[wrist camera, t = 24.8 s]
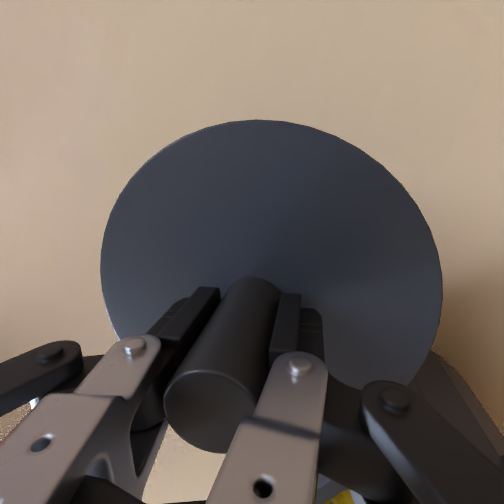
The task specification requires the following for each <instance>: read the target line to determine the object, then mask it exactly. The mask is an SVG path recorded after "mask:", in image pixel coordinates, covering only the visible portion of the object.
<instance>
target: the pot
mask: <svg viewBox="0 0 504 504" xmlns="http://www.w3.org/2000/svg"><path fill="white" fill-rule="evenodd" d="M407 387H408V388H410V389H412V390H413V391H415V392H416V393H418V394H419V395H420V396H421V397H422V398H423V399H424V400H425V401H427V402H428V403H429V404H430V405H431V406H432V407H433V408H434V409H435V410H436V411H437V412H439V413H440V414H441V415H442V416H443V417H444V418H445V419H446V420H447V421H448V422H449V423H450V424H452V425H453V426H454V427H455V428H456V429H457V430H458V431H459V432H460V433H461V434H462V435H463V436H465V437H466V438H467V439H468V440H469V441H470V442H471V443H472V444H473V445H474V446H475V447H476V448H478V449H479V450H480V451H481V452H482V453H483V454H484V455H485V456H486V457H487V458H488V459H489V460H491V461H492V462H493V463H494V464H495V465H496V466H497V467H498V468H499V469H500V470H501V471H502V472H504V437H503V435H502V434H501V432H500V431H499V429H498V428H497V426H496V425H495V424H494V422H493V421H492V419H491V418H490V416H489V415H488V414H487V412H486V411H485V409H484V408H483V406H482V405H481V403H480V402H479V401H478V399H477V398H476V396H475V395H474V393H473V392H472V390H471V389H470V388H469V386H468V385H467V383H466V382H465V380H464V379H463V378H462V376H461V375H460V374H458V373H457V372H456V371H455V370H454V368H453V367H452V366H450V365H449V364H448V363H447V362H446V361H445V360H444V359H442V358H441V357H440V356H438V355H437V354H436V353H434V352H432V351H429V353H428V355H427V357H426V359H425V361H424V363H423V365H422V366H421V367H420V369H419V370H418V372H417V373H416V375H415V376H414V378H413V379H412V380H411V382H410V383H409V384H408V385H407ZM344 490H349V489H348V488H346V487H344V486H343V485H341V484H339V483H337V482H335V481H333V480H331V479H329V478H327V477H325V476H324V475H322V474H320V473H319V476H318V485H317V494H316V503H315V504H323V503H325V502H326V501H328V500H330V499H331V498H333V497H334V496H336V495H337V494H339V493H341V492H342V491H344Z"/></svg>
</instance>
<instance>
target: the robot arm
mask: <svg viewBox="0 0 504 504" xmlns="http://www.w3.org/2000/svg"><path fill="white" fill-rule="evenodd" d="M220 301H221V292H220V289H219V288H218V287H206V286H199V287H198V288H197V289H196V291H195V292H194V293H193V294H192V295H191V296H190V297H189V298H188V297H185V298H183V299H181V300H179V301H177V302H175V303H174V304H173V305H172V306H171V307H170V308H169V309H168V310H167V312H165V313H164V314H163V315H162V318H160V319H159V320H158V321H157V322H156V323H155V324H154V325H153V326H152V327H151V328H150V329H149V330H148V331H147V332H146V333H145V334H139V335H133V336H129V337H126V338H124V339H122V340H120V341H118V342H116V343H115V344H114V345H113V346H112V347H111V348H110V349H109V350H108V352H107V353H106V354H105V355H95V356H85V357H82V352H81V347H80V345H79V344H78V343H77V342H74V341H68V340H64V341H56V342H52V343H48V344H45V345H43V346H40V347H38V348H35V349H33V350H30V351H28V352H26V353H23V354H21V355H19V356H16V357H14V358H11V359H9V360H7V361H4V362H2V363H0V417H1V416H3V415H5V414H7V413H9V412H11V411H12V410H14V409H16V408H18V407H20V406H22V405H24V404H26V403H28V402H30V405H31V408H32V410H31V411H30V412H29V413H28V414H27V415H26V416H25V417H24V418H23V419H22V420H21V421H20V422H19V423H18V425H17V426H16V427H15V428H14V429H13V430H12V431H11V432H10V433H9V434H8V435H7V436H6V437H5V438H4V439H3V440H2V441H1V442H0V504H146V503H144V502H142V495H143V491H144V487H145V484H146V482H147V479H148V477H149V474H150V472H151V469H152V466H153V464H154V461H155V459H156V456H157V453H158V451H159V448H160V446H161V443H162V440H163V438H164V435H165V433H166V430H167V428H168V424H169V422H168V421H167V418H166V416H165V413H164V409H163V396H164V391H165V388H166V386H167V384H168V383H169V381H170V380H171V378H172V377H173V375H174V373H175V372H176V370H177V369H178V367H179V366H180V364H181V362H182V361H183V359H184V358H185V356H186V355H187V353H188V351H189V350H190V348H191V347H192V345H193V344H194V342H195V340H196V339H197V337H198V336H199V334H200V333H201V331H202V329H203V328H204V326H205V325H206V323H207V322H208V320H209V318H210V317H211V315H212V314H213V312H214V311H215V309H216V307H217V306H218V304H219V303H220ZM319 473H320V474H322V475H324V476H325V477H327V478H329V479H331V480H333V481H335V482H337V483H339V484H341V485H343V486H344V487H346V488H348V489H350V494H351V497H352V499H353V501H354V503H355V504H504V472H502V471H501V470H500V469H499V468H498V467H497V466H496V465H495V464H494V463H493V462H492V461H491V460H489V459H488V458H487V457H486V456H485V455H484V454H483V453H482V452H481V451H480V450H479V449H478V448H476V447H475V446H474V445H473V444H472V443H471V442H470V441H469V440H468V439H467V438H466V437H465V436H463V435H462V434H461V433H460V432H459V431H458V430H457V429H456V428H455V427H454V426H453V425H452V424H450V423H449V422H448V421H447V420H446V419H445V418H444V417H443V416H442V415H441V414H440V413H439V412H437V411H436V410H435V409H434V408H433V407H432V406H431V405H430V404H429V403H428V402H427V401H425V400H424V399H423V398H422V397H421V396H420V395H419V394H418V393H416V392H415V391H413V390H412V389H410V388H408V387H407V386H404V385H402V384H400V383H396V382H393V381H387V380H377V381H372V382H369V383H368V384H366V385H365V386H364V387H363V389H362V391H361V390H359V389H356V388H353V387H350V386H348V385H345V384H343V383H342V382H340V381H338V380H337V379H335V378H334V377H333V376H332V375H331V374H330V373H329V372H328V369H327V366H326V364H325V358H324V341H323V327H322V316H321V315H320V314H319V312H318V311H317V310H316V309H313V308H302V307H301V294H293V293H282V294H281V298H280V302H279V307H278V311H277V316H276V320H275V324H274V329H273V333H272V338H271V342H270V347H269V372H268V378H267V380H266V383H265V385H264V388H263V391H262V393H261V396H260V398H259V401H258V403H257V406H256V408H255V411H254V414H253V416H248V415H245V416H244V417H243V418H242V420H241V422H240V424H239V426H238V428H237V431H236V433H235V435H234V438H233V440H232V442H231V445H230V447H229V449H228V452H227V454H226V456H225V459H224V461H223V463H222V466H221V468H220V470H219V473H218V475H217V477H216V480H215V482H214V484H213V487H212V489H211V491H210V494H209V496H208V498H207V500H204V501H191V502H179V503H166V504H315V503H316V494H317V485H318V476H319Z"/></svg>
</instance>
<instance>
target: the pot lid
mask: <svg viewBox="0 0 504 504" xmlns="http://www.w3.org/2000/svg"><path fill="white" fill-rule="evenodd" d="M100 274H101V285H102V292H103V297H104V302H105V306H106V310H107V313H108V316H109V319H110V321H111V324H112V327H113V329H114V331H115V333H116V335H117V337H118V339H119V341H120V340H122V339H124V338H126V337H129V336H133V335H139V334H145V333H146V332H147V331H148V330H149V329H150V328H151V327H152V326H153V325H154V324H155V323H156V322H157V321H158V320H159V319H160V318H162V315H163V314H164V313H165V312H167V310H168V309H169V308H170V307H171V306H172V305H173V304H174V303H175V302H177V301H179V300H181V299H183V298H185V297H188V298H189V297H190V296H191V295H192V294H193V293H194V292H195V291H196V289H197V288H198V287H199V286H206V287H218V288H219V289H220V292H221V301H220V303H219V304H218V306H217V307H216V309H215V311H214V312H213V314H212V315H211V317H210V318H209V320H208V322H207V323H206V325H205V326H204V328H203V329H202V331H201V333H200V334H199V336H198V337H197V339H196V340H195V342H194V344H193V345H192V347H191V348H190V350H189V351H188V353H187V355H186V356H185V358H184V359H183V361H182V362H181V364H180V366H179V367H178V369H177V370H176V372H175V373H174V375H173V377H172V378H171V380H170V381H169V383H168V384H167V386H166V388H165V391H164V396H163V409H164V413H165V416H166V418H167V421H168V422H169V424H170V426H171V427H172V428H173V430H174V431H175V432H176V433H177V434H178V435H179V436H180V437H181V438H182V439H183V440H185V441H186V442H188V443H189V444H191V445H193V446H194V447H197V448H199V449H201V450H204V451H208V452H212V453H220V454H226V453H227V452H228V449H229V447H230V445H231V442H232V440H233V438H234V435H235V433H236V431H237V428H238V426H239V424H240V422H241V420H242V418H243V417H244V416H245V415H248V416H253V414H254V411H255V408H256V406H257V403H258V401H259V398H260V396H261V393H262V391H263V388H264V385H265V383H266V380H267V378H268V372H269V347H270V342H271V338H272V333H273V329H274V324H275V320H276V316H277V311H278V307H279V302H280V298H281V294H282V293H293V294H301V307H302V308H313V309H316V310H317V311H318V312H319V314H320V315H321V316H322V327H323V341H324V358H325V364H326V366H327V369H328V372H329V373H330V374H331V375H332V376H333V377H334V378H335V379H337V380H338V381H340V382H342V383H343V384H345V385H348V386H350V387H353V388H356V389H359V390H361V391H362V389H363V387H364V386H365V385H366V384H368V383H369V382H372V381H377V380H387V381H393V382H396V383H400V384H402V385H404V386H407V385H408V384H409V383H410V382H411V380H412V379H413V378H414V376H415V375H416V373H417V372H418V370H419V369H420V367H421V366H422V365H423V363H424V361H425V359H426V357H427V355H428V353H429V351H430V349H431V347H432V345H433V342H434V339H435V336H436V332H437V329H438V326H439V322H440V315H441V308H442V301H443V288H442V272H441V266H440V261H439V255H438V251H437V248H436V245H435V242H434V239H433V236H432V234H431V231H430V228H429V226H428V224H427V222H426V221H425V219H424V217H423V215H422V213H421V211H420V209H419V207H418V206H417V204H416V203H415V202H414V200H413V199H412V198H411V196H410V195H409V194H408V192H407V191H406V190H405V188H404V187H403V186H402V184H401V183H400V182H399V181H398V180H397V179H396V178H395V177H394V176H393V175H392V174H391V173H390V172H389V171H388V170H387V169H386V168H385V167H384V166H383V165H381V164H380V163H379V162H377V161H376V160H374V159H373V158H372V157H370V156H369V155H368V154H366V153H365V152H364V151H362V150H361V149H359V148H357V147H356V146H354V145H352V144H350V143H348V142H346V141H344V140H342V139H340V138H339V137H337V136H334V135H332V134H329V133H326V132H323V131H320V130H318V129H315V128H312V127H309V126H304V125H299V124H295V123H290V122H285V121H272V120H245V121H234V122H227V123H223V124H219V125H215V126H210V127H206V128H204V129H201V130H199V131H196V132H193V133H191V134H188V135H186V136H183V137H182V138H180V139H178V140H177V141H175V142H173V143H171V144H170V145H168V146H166V147H165V148H163V149H162V150H160V151H159V152H158V153H157V154H155V155H154V156H153V157H152V158H150V159H149V160H148V161H147V162H146V163H145V164H144V165H143V166H142V167H141V168H140V169H139V170H138V171H137V172H136V173H135V174H134V176H133V177H132V178H131V179H130V181H129V182H128V183H127V185H126V186H125V188H124V189H123V191H122V192H121V194H120V195H119V197H118V199H117V201H116V203H115V205H114V207H113V209H112V211H111V214H110V216H109V220H108V223H107V226H106V229H105V232H104V237H103V243H102V249H101V263H100Z"/></svg>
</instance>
